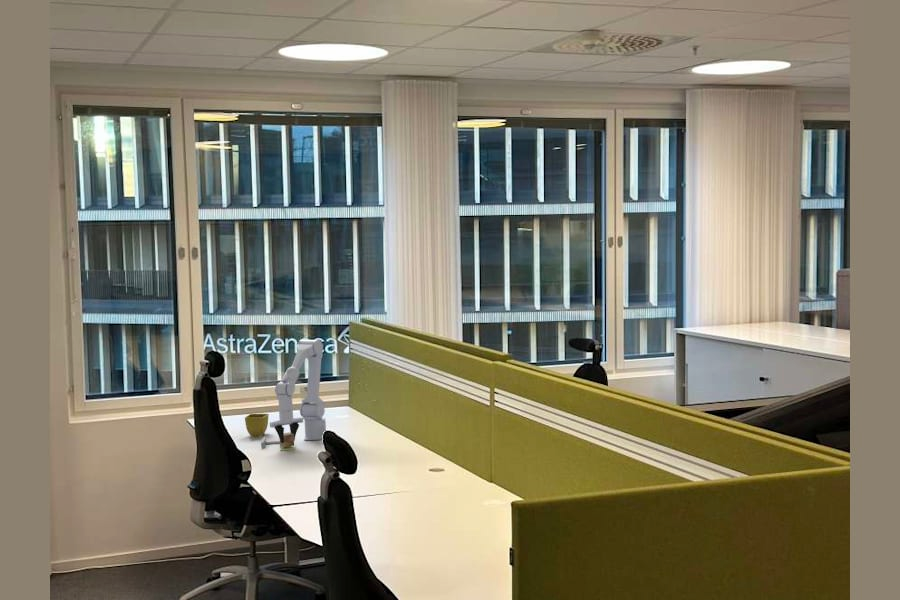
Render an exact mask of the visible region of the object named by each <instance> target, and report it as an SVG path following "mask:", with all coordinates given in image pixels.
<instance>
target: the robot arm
mask: <svg viewBox="0 0 900 600" xmlns="http://www.w3.org/2000/svg"><path fill="white" fill-rule="evenodd" d="M323 352H324V344H323V342H322V341H321V340H320V339H303V338H302V339H300V340H298V342H297V345H296V354H295V357H294V360H293V362H292V364H291V366H290V367H287V369H286V371H285V373H284V375H283V376H282V379H281V381H280V382H278V383H276V385H275V389H274V393H275V394H276V399H277V400H278V415H279V418H278V419H279V420H275V421H271V422H269V428H274V429H275V431H276V433H277V437H279V441H280V442H281V443H284V433H285V427H284V426H288V425H289V430H290V433H293V434H294V442H295V440H296V435H297V432H298V429H299V427H300V424H299V423H301V424H303V423H304V438H303V441H317V440H318V441H320V440H323V439H322V435H323V432H324V431H327V423H326V421H327V420H326V417H324V414H325V411H326V410H325V404H324V402H325V401H324V400H323V399H322V398H320V397H319V396H320V386H321V385H320V382H321V370H322V367H321V366H322V358H323V354H324V353H323ZM306 359H307V360H308V370H307V371H308V372H307V374H308V375H307V387H306V396H305V397H304V398H303V399H302V400H301V404H300V407H299V413H300V416H301V417H294V411H293V394H294V393H295V391H296V382H297V380H298V378H299V377H300V374H301V373H300V369H301V367H302V365H303V364H304V362H305V361H306Z"/></svg>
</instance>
